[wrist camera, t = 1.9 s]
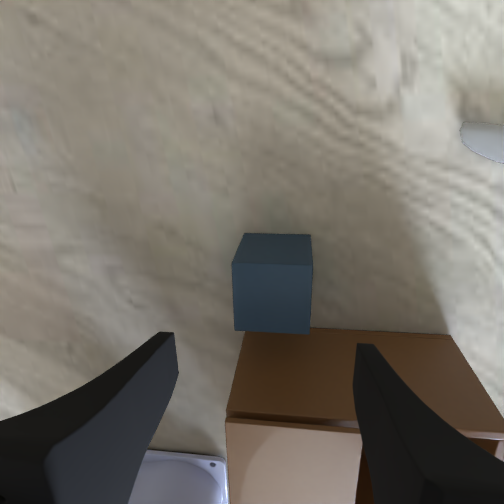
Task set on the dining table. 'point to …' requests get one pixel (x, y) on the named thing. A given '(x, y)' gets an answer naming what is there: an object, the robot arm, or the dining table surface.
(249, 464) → the carton
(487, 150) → the butter knife
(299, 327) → the block
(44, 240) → the dining table surface
